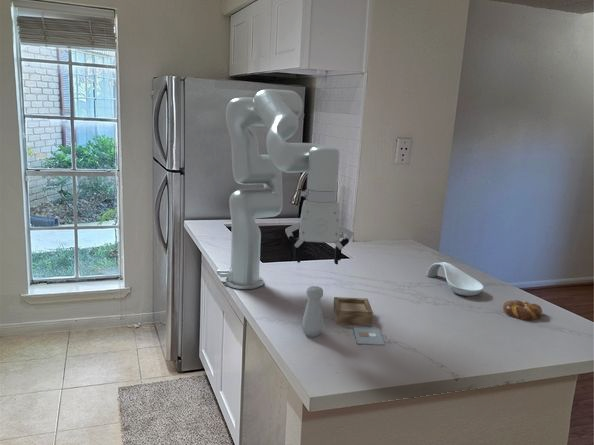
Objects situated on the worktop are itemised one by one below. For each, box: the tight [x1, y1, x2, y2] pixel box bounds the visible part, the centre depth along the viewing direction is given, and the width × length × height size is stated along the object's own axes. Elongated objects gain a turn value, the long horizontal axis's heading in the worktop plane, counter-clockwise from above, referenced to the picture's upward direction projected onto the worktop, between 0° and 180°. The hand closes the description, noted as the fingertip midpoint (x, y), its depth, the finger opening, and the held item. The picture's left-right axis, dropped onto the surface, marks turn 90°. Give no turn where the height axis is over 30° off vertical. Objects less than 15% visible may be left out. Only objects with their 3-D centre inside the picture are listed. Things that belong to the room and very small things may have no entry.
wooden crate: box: [332, 296, 374, 326], centre depth 150 cm, size 10×10×4 cm
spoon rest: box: [426, 261, 485, 297], centre depth 180 cm, size 24×12×7 cm, turn 25°
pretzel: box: [502, 299, 543, 321], centre depth 160 cm, size 12×11×4 cm
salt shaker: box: [301, 285, 325, 338], centre depth 137 cm, size 6×6×13 cm
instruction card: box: [352, 325, 386, 346], centre depth 138 cm, size 7×10×1 cm
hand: (317, 262), depth 133 cm, fingers open, 9 cm apart
